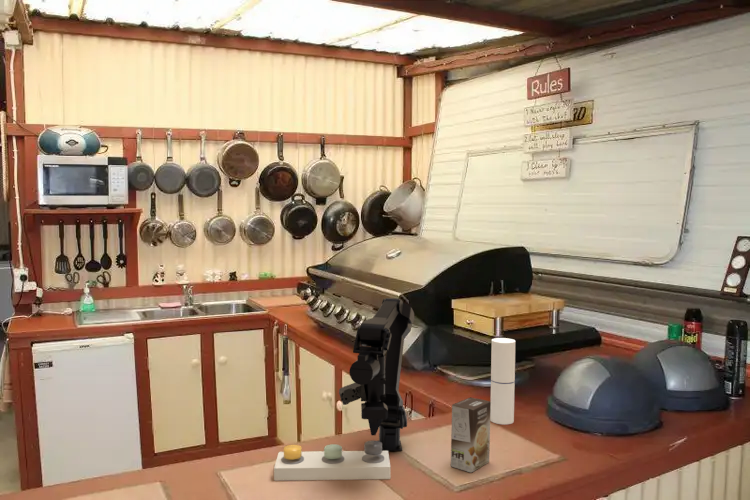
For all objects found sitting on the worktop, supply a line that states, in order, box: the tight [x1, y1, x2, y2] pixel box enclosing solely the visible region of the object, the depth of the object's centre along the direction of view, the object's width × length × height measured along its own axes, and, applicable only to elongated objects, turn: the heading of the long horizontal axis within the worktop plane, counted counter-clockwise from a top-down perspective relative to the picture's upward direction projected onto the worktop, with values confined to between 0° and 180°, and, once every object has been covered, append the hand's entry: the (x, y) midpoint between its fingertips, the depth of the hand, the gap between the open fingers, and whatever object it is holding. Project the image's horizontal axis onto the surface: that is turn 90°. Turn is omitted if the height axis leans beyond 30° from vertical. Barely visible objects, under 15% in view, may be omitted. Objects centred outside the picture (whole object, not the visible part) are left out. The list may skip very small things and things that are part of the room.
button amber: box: [283, 444, 303, 460], centre depth 153 cm, size 4×4×2 cm
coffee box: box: [450, 397, 491, 473], centre depth 158 cm, size 9×6×16 cm
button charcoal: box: [363, 440, 382, 455], centre depth 154 cm, size 4×4×2 cm
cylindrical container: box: [490, 337, 516, 425], centre depth 190 cm, size 7×7×25 cm
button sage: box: [323, 443, 343, 459], centre depth 154 cm, size 4×4×2 cm
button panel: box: [273, 450, 391, 482], centre depth 154 cm, size 10×28×3 cm, turn 92°
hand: (373, 434), depth 154 cm, fingers closed
